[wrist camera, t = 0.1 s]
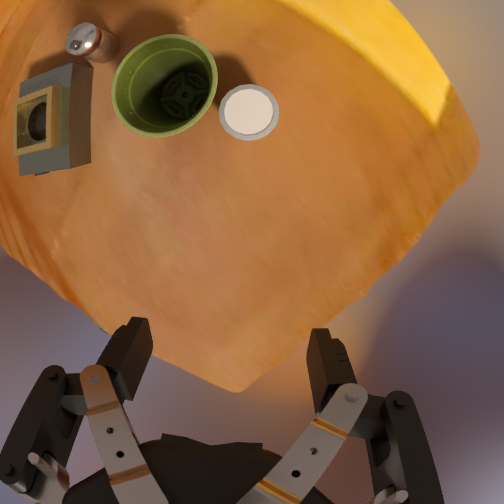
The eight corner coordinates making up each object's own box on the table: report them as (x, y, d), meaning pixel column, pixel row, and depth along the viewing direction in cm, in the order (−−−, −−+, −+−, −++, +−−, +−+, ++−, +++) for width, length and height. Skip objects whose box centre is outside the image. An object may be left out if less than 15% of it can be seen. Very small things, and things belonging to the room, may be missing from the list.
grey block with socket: (42, 84, 31) (10, 82, 23) (93, 68, 31) (62, 59, 23) (41, 172, 38) (10, 182, 30) (91, 165, 38) (60, 175, 30)
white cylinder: (227, 91, 34) (220, 82, 27) (277, 94, 34) (281, 86, 27) (223, 138, 36) (216, 139, 30) (273, 142, 36) (276, 143, 30)
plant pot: (142, 133, 36) (104, 136, 26) (154, 58, 31) (121, 37, 21) (221, 140, 36) (207, 142, 26) (234, 61, 32) (226, 34, 21)
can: (94, 39, 29) (63, 26, 20) (121, 32, 29) (93, 15, 20) (91, 66, 31) (58, 57, 23) (117, 59, 31) (87, 47, 23)
